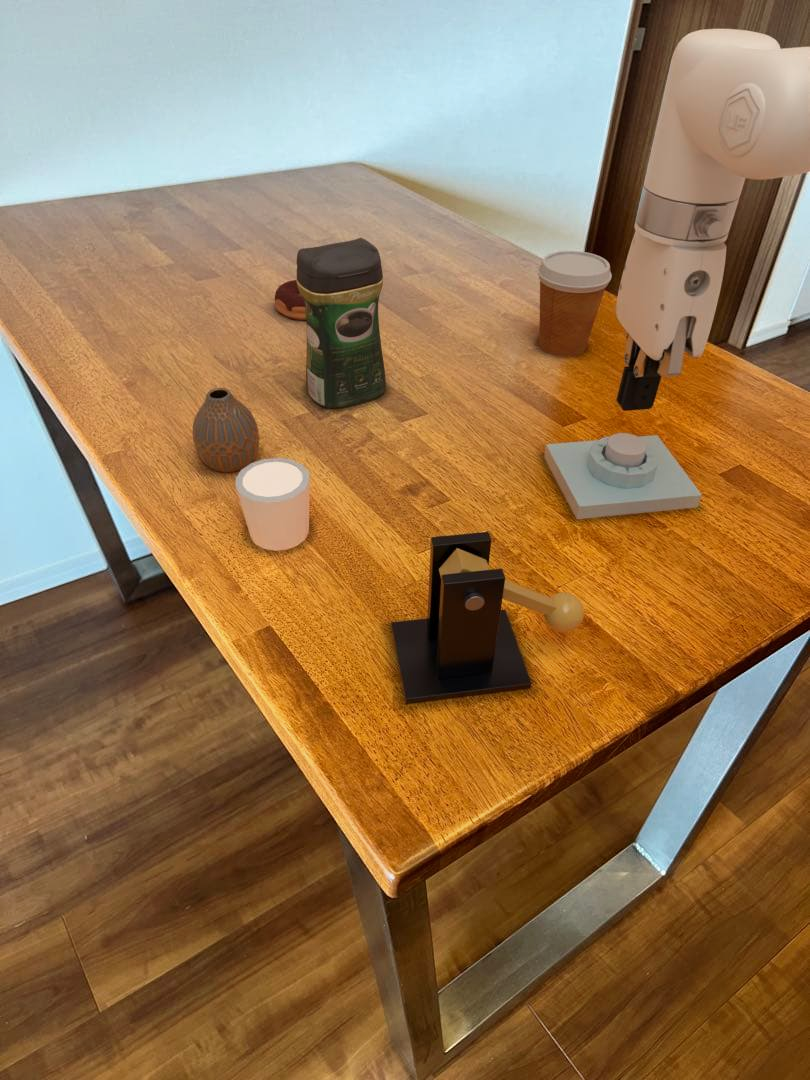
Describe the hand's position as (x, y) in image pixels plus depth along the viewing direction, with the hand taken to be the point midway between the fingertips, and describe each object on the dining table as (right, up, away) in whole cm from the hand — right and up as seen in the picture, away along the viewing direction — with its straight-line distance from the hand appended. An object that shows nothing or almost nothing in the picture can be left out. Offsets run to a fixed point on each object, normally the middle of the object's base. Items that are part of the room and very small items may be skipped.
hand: (633, 405), depth 72 cm
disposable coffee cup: (-1, +13, +30) cm, 32 cm away
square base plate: (0, -7, +6) cm, 10 cm away
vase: (-42, -5, +9) cm, 43 cm away
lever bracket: (-18, -23, -12) cm, 32 cm away
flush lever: (-15, -19, -16) cm, 29 cm away
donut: (-37, +21, +38) cm, 57 cm away
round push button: (0, -5, +4) cm, 6 cm away
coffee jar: (-30, +5, +20) cm, 36 cm away
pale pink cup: (-35, -13, 0) cm, 37 cm away
